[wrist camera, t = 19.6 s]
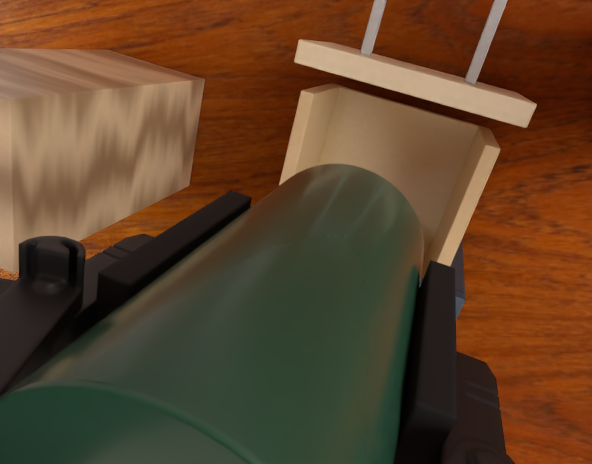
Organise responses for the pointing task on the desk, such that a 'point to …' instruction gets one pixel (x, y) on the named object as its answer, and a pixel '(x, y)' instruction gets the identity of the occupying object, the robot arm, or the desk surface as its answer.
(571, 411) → the desk surface
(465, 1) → the desk surface
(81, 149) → the stand
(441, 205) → the drawer
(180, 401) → the tin
